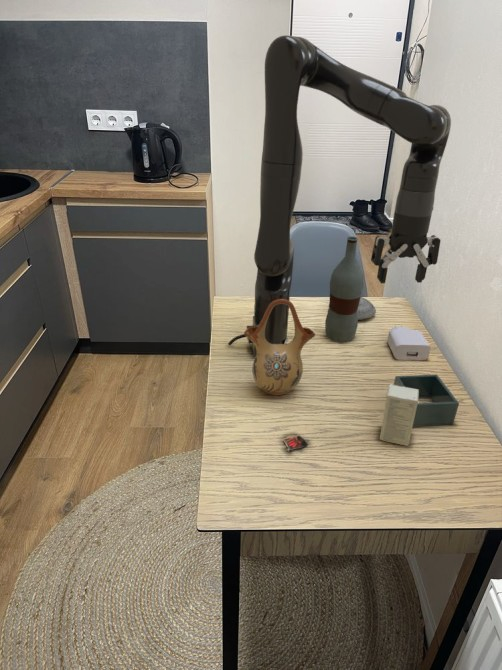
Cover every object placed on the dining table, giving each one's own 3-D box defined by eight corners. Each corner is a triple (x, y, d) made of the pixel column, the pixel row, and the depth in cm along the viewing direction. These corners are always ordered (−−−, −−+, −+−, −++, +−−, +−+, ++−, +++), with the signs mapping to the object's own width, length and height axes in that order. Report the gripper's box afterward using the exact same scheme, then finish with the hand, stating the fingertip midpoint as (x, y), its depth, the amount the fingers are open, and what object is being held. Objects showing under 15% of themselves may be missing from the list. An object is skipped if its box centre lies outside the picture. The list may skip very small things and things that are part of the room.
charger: (412, 333, 149) (427, 360, 136) (381, 333, 149) (394, 359, 136) (415, 319, 147) (431, 345, 134) (384, 319, 147) (397, 344, 134)
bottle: (360, 334, 148) (375, 237, 133) (348, 347, 141) (362, 246, 126) (331, 325, 152) (343, 230, 138) (318, 337, 145) (329, 239, 131)
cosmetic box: (409, 434, 109) (420, 389, 103) (408, 447, 105) (419, 401, 99) (380, 427, 111) (389, 382, 105) (378, 440, 107) (387, 394, 101)
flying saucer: (365, 327, 152) (367, 311, 149) (320, 315, 158) (322, 299, 156) (381, 309, 163) (384, 294, 160) (339, 298, 170) (341, 283, 167)
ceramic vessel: (307, 380, 126) (316, 290, 114) (311, 402, 118) (321, 308, 106) (243, 379, 126) (244, 289, 113) (242, 401, 118) (244, 306, 106)
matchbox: (309, 444, 105) (310, 443, 105) (291, 454, 102) (291, 452, 102) (295, 432, 108) (295, 431, 108) (277, 441, 106) (277, 439, 105)
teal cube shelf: (409, 426, 111) (414, 405, 108) (391, 396, 121) (395, 376, 118) (453, 424, 112) (459, 403, 109) (431, 394, 122) (437, 374, 119)
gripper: (438, 205, 108) (423, 274, 116) (374, 205, 106) (364, 275, 114) (453, 215, 101) (437, 287, 109) (386, 215, 100) (374, 289, 108)
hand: (399, 281), depth 112 cm, fingers open, 8 cm apart
